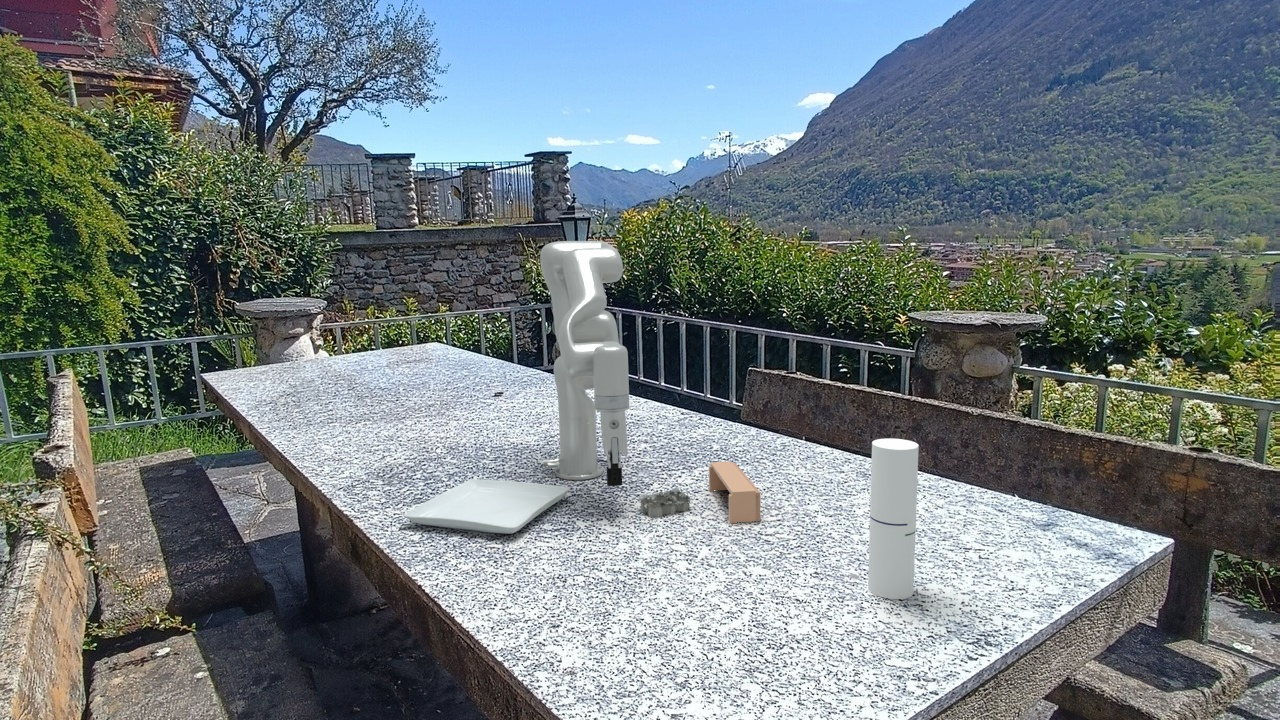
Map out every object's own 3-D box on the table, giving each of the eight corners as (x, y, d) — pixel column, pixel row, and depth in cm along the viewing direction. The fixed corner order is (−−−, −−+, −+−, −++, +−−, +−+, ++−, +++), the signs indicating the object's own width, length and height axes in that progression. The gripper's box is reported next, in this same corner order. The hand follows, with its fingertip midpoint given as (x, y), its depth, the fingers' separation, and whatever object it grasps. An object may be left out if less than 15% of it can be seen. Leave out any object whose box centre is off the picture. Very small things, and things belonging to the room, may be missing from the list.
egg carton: (651, 520, 158) (651, 502, 157) (636, 510, 164) (635, 492, 164) (694, 511, 162) (694, 493, 162) (678, 501, 169) (677, 484, 168)
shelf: (730, 523, 154) (729, 492, 153) (708, 490, 176) (708, 462, 175) (760, 521, 155) (760, 490, 154) (735, 488, 177) (735, 461, 176)
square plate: (573, 501, 171) (572, 484, 171) (516, 545, 146) (515, 526, 145) (471, 491, 180) (471, 475, 179) (401, 530, 154) (400, 513, 154)
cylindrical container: (861, 581, 126) (865, 439, 122) (901, 579, 126) (906, 437, 123) (878, 600, 119) (882, 450, 115) (921, 598, 119) (926, 448, 116)
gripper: (632, 407, 152) (635, 493, 154) (626, 396, 167) (628, 475, 169) (596, 409, 151) (599, 495, 153) (593, 397, 166) (596, 477, 168)
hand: (614, 484), depth 161 cm, fingers closed
